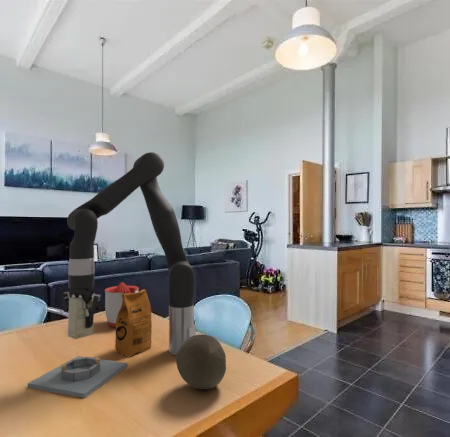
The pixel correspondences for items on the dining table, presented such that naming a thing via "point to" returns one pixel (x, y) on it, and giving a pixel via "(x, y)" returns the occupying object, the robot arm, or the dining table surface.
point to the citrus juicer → (116, 300)
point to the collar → (81, 374)
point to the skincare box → (78, 319)
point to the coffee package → (133, 324)
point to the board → (77, 388)
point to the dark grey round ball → (201, 361)
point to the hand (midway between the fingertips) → (81, 326)
